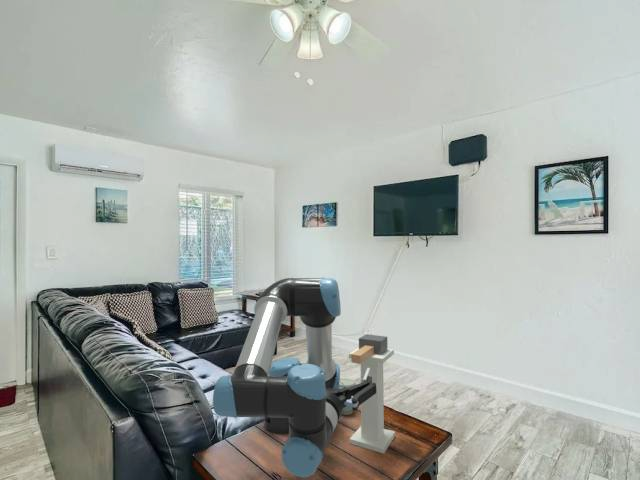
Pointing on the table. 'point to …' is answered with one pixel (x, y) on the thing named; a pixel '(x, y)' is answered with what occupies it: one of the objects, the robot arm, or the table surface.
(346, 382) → the coffee cup
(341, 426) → the table surface
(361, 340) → the hammer
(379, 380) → the tall stand
